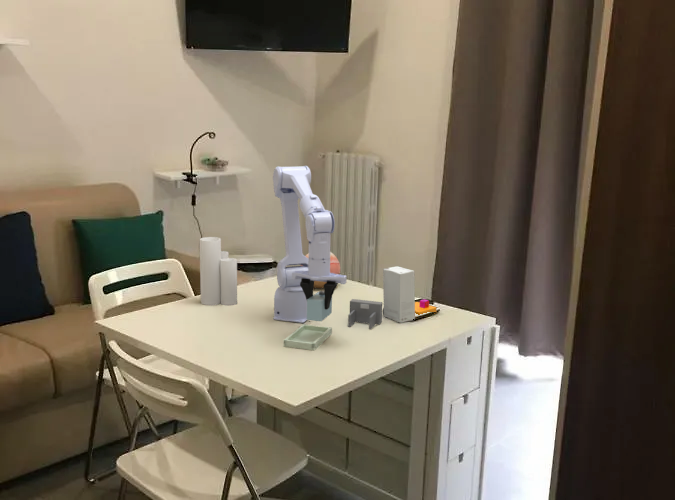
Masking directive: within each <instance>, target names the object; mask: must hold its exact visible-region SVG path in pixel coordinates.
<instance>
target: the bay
mask: <svg viewBox="0 0 675 500" xmlns="http://www.w3.org/2000/svg"><path fill="white" fill-rule="evenodd" d="M347 316H348V318H347V320H348V323H347V327H349V328H350V327H352V326H353V325H354V323H361V324H362V323H363V324H368V330H372V329H373V328H374V327H375V326H376V325H382V324H381V323H382V322H383V301H374V300H365V299H355V298H352V299H351V300H350V301H349V314H348V315H347Z"/></svg>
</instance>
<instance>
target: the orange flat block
mask: <svg viewBox="0 0 675 500" xmlns="http://www.w3.org/2000/svg"><path fill="white" fill-rule="evenodd" d="M427 312H436V313H437V306H432V305H430V301H429V300H428V299H424V298H423V299H420V300H419V301H415V313H416V314H418V315H420V314H423V313H427Z"/></svg>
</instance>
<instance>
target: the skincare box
mask: <svg viewBox="0 0 675 500" xmlns="http://www.w3.org/2000/svg"><path fill="white" fill-rule="evenodd" d="M382 270H383V273H382V274H383V275H382V276H383V277H382V278H383V280H382V284H383V288H382V289H383V317H384V318H387V319H390V320H393V321H395V322H398V323H400V324H401V323H403V322H404V323H405V322H410V321H414V320H415V319H416V317H415V302H416V301H415V299H416V298H415V295H416V294H415V293H416V292H415V289H416V288H415V287H416V285H415V284H416V283H415V281H416V280H415V278H416V277H415V273H416V271H415V270H413V269H408V268H404V267H401V266H398V265H397V266H396V265H395V266H392V267H391V266H390V267H386V268H383V269H382ZM413 319H414V320H413Z"/></svg>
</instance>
